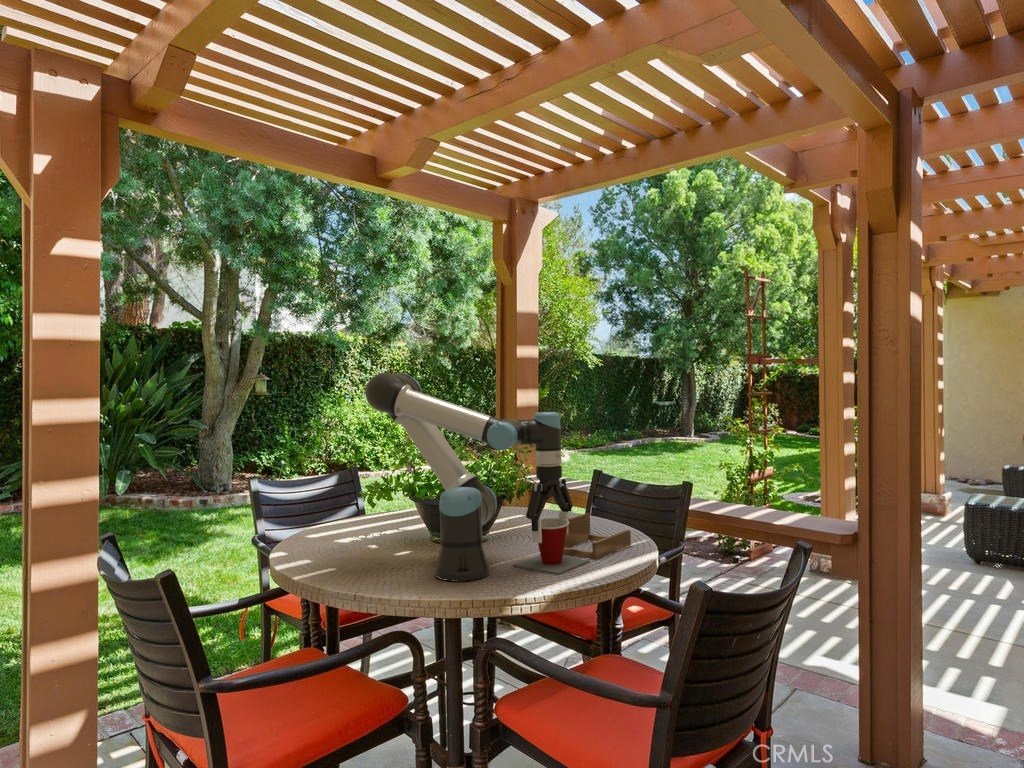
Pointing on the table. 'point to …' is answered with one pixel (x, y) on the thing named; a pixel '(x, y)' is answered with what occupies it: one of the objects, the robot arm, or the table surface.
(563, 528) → the plastic cup
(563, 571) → the mat
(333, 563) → the table surface
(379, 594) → the table surface
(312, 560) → the table surface
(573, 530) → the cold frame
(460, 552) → the robot arm
